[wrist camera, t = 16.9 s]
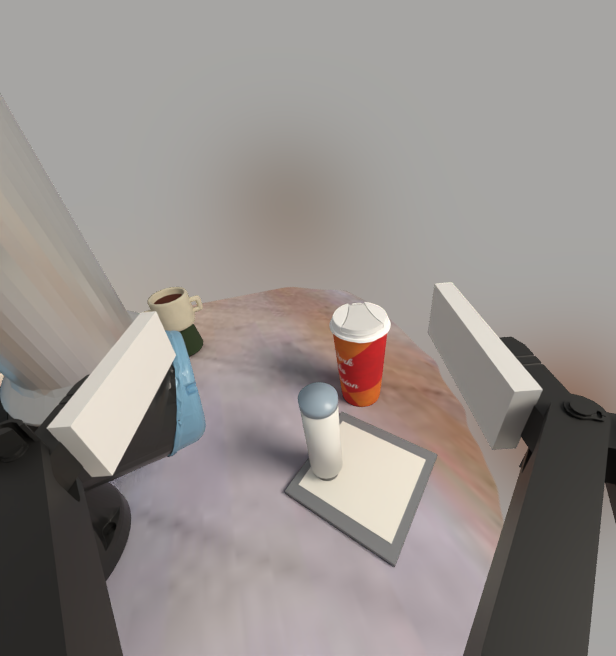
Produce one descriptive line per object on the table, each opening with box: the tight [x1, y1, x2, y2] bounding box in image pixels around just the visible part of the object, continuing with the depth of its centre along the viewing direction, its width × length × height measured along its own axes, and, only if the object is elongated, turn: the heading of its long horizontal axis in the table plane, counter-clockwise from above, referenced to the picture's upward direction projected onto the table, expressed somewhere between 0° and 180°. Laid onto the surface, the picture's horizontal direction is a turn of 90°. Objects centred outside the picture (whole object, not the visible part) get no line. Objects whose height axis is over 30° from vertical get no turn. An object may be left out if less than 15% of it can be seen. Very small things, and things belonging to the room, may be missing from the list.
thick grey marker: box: [298, 382, 343, 481], centre depth 36 cm, size 4×4×14 cm
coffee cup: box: [330, 302, 391, 407], centre depth 46 cm, size 8×8×15 cm
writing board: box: [285, 412, 437, 567], centre depth 39 cm, size 14×14×1 cm
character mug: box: [145, 287, 203, 356], centre depth 62 cm, size 11×7×13 cm, turn 118°
